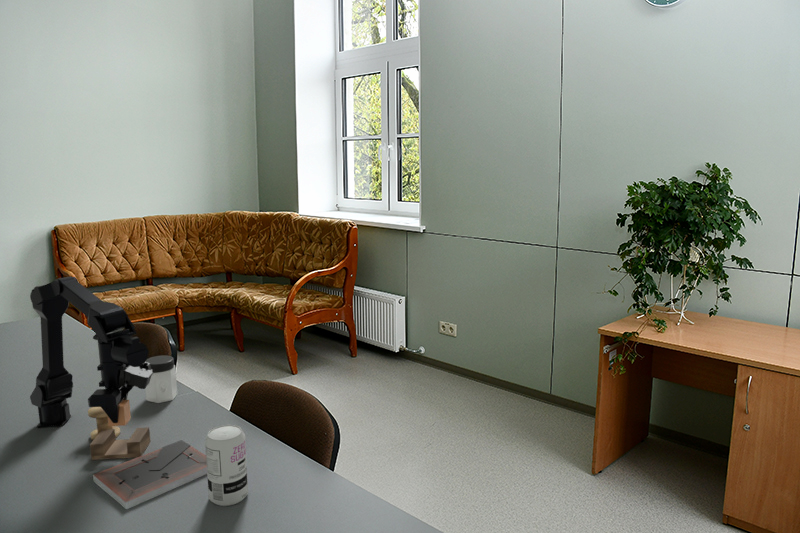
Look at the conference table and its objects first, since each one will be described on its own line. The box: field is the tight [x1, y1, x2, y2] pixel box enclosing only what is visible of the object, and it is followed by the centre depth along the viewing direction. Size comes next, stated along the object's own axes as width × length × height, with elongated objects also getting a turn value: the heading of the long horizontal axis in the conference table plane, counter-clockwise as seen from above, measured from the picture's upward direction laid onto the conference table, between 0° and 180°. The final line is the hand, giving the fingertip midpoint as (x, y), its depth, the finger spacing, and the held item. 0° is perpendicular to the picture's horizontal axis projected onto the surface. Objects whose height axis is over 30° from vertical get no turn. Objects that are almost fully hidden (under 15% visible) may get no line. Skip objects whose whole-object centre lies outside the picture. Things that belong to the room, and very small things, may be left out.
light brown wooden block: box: [107, 399, 132, 427], centre depth 149 cm, size 4×4×5 cm
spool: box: [87, 407, 121, 441], centre depth 158 cm, size 7×7×8 cm
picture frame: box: [92, 439, 207, 510], centre depth 140 cm, size 16×2×22 cm
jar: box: [145, 355, 178, 404], centre depth 182 cm, size 9×8×12 cm
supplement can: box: [204, 424, 249, 507], centre depth 130 cm, size 8×8×15 cm
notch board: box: [89, 426, 151, 461], centre depth 151 cm, size 12×8×4 cm
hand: (118, 418), depth 150 cm, fingers closed on light brown wooden block, 4 cm apart
